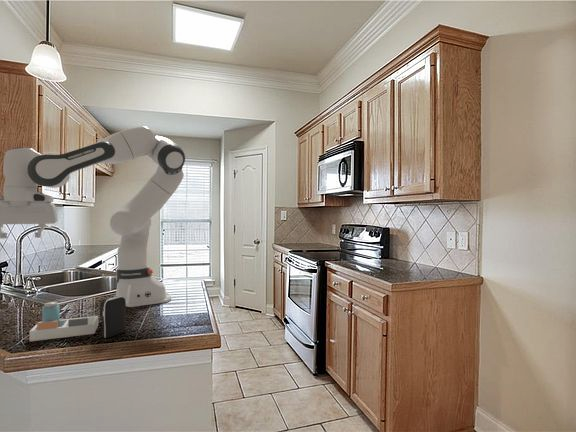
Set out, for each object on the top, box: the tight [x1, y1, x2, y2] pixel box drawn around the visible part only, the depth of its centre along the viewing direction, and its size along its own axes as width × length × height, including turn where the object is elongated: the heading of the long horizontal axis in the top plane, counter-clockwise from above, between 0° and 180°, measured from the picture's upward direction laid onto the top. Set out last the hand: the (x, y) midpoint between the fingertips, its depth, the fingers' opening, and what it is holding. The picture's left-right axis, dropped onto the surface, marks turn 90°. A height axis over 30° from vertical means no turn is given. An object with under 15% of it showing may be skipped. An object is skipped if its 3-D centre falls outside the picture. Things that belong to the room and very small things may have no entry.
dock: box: [29, 315, 99, 342], centre depth 105 cm, size 16×9×5 cm, turn 112°
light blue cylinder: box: [41, 301, 61, 327], centre depth 104 cm, size 4×4×9 cm
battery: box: [99, 295, 127, 339], centre depth 104 cm, size 7×4×11 cm, turn 155°
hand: (21, 237), depth 113 cm, fingers open, 8 cm apart
